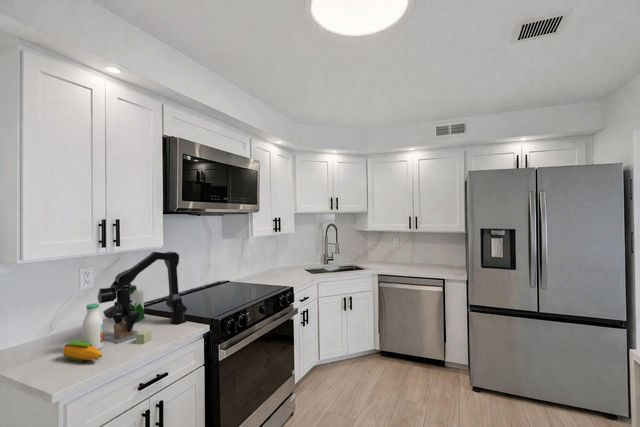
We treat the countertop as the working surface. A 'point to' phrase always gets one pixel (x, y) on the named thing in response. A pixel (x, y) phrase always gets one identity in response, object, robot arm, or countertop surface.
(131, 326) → the robot arm
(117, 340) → the slate coaster
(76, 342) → the corn
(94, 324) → the milk bottle
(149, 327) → the countertop surface
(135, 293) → the milk carton
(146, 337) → the olive block
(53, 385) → the countertop surface
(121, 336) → the walnut cube
